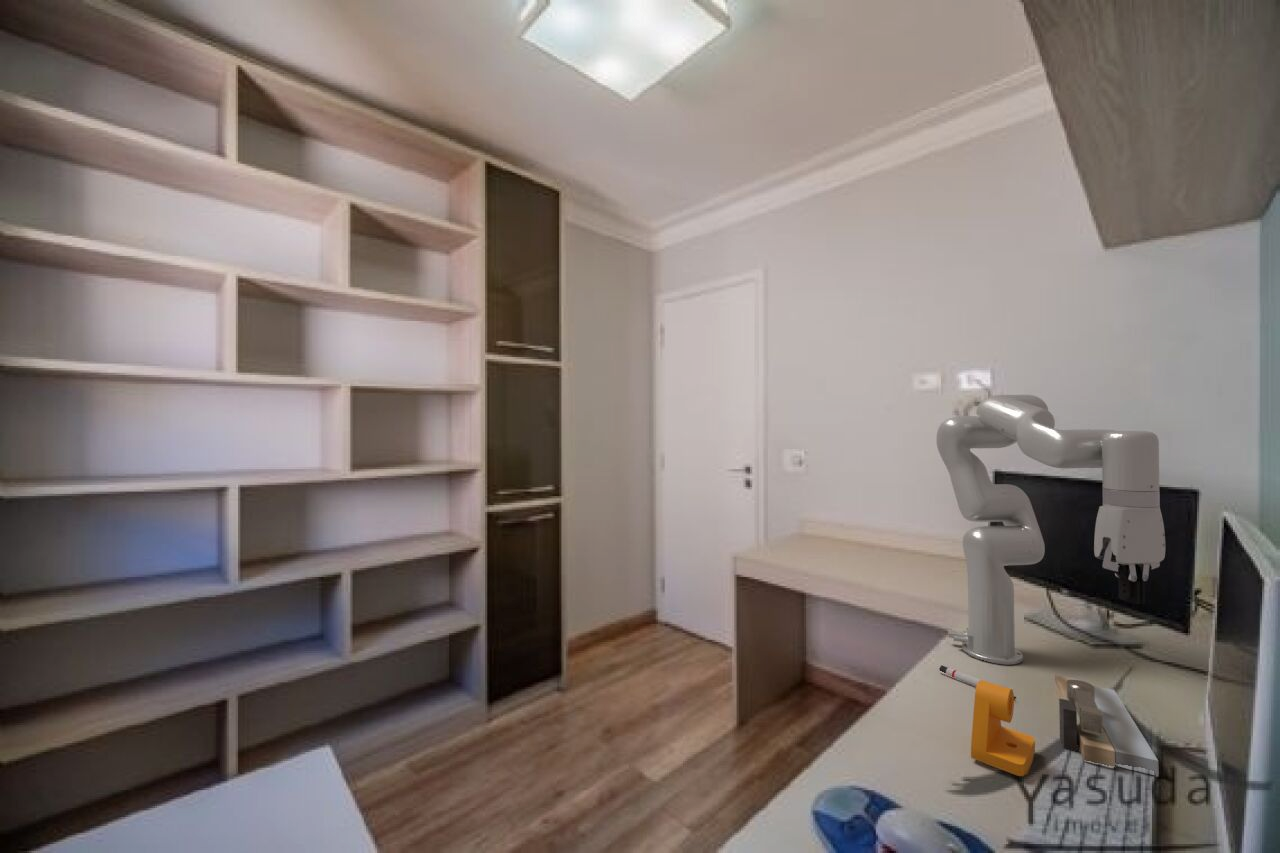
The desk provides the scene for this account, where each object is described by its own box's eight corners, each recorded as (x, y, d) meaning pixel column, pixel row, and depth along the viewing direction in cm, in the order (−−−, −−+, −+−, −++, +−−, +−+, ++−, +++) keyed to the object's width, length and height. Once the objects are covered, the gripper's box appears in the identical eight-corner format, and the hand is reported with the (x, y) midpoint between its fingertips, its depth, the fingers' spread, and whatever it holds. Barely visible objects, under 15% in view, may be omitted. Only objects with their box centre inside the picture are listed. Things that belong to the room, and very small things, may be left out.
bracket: (1023, 783, 84) (1022, 708, 84) (971, 762, 89) (970, 691, 89) (1036, 753, 91) (1035, 684, 91) (987, 735, 96) (986, 670, 96)
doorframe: (1067, 757, 89) (1066, 717, 89) (1042, 686, 114) (1041, 654, 114) (1160, 780, 83) (1160, 736, 84) (1113, 700, 108) (1112, 666, 108)
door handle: (1065, 694, 102) (1065, 676, 102) (1092, 700, 100) (1092, 681, 100) (1077, 729, 90) (1076, 709, 90) (1107, 737, 88) (1107, 715, 88)
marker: (939, 675, 120) (939, 666, 120) (943, 672, 121) (943, 664, 121) (1014, 704, 107) (1014, 695, 107) (1019, 702, 108) (1018, 692, 108)
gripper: (1142, 495, 99) (1143, 592, 99) (1074, 498, 97) (1075, 597, 97) (1189, 500, 91) (1191, 605, 91) (1116, 503, 89) (1118, 611, 89)
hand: (1131, 601), depth 94 cm, fingers closed
